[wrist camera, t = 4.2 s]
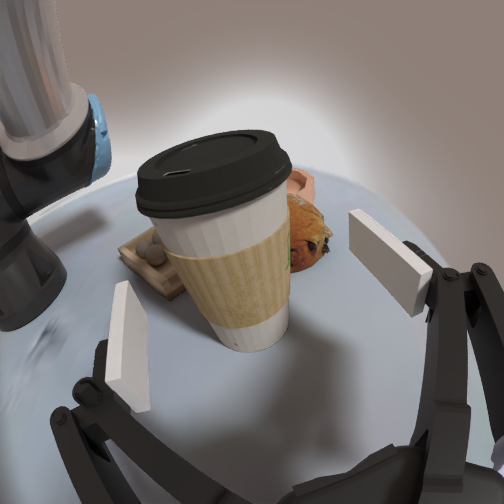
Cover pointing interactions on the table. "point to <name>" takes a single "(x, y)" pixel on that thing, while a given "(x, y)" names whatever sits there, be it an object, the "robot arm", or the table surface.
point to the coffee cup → (226, 230)
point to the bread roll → (306, 233)
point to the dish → (301, 184)
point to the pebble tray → (151, 271)
